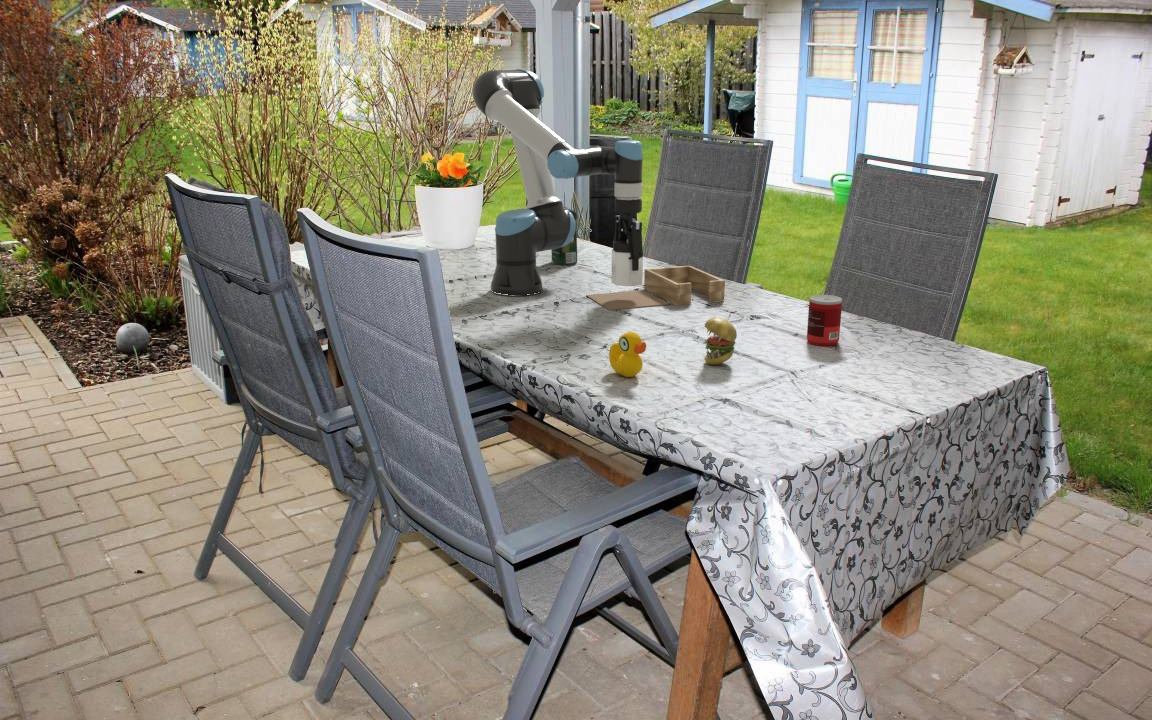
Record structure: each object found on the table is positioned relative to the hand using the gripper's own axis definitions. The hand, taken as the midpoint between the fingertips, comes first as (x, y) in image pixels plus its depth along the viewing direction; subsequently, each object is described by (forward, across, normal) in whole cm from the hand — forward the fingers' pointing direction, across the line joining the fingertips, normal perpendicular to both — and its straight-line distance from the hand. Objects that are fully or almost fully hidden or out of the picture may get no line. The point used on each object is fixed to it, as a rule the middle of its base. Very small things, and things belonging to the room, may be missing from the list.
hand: (627, 278), depth 282 cm
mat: (+6, 0, 0) cm, 6 cm away
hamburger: (+7, -63, +4) cm, 63 cm away
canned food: (+7, -56, -28) cm, 63 cm away
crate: (+6, +1, -18) cm, 19 cm away
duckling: (+7, -64, +27) cm, 70 cm away
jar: (+2, 0, 0) cm, 2 cm away
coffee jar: (+6, +56, -1) cm, 57 cm away
